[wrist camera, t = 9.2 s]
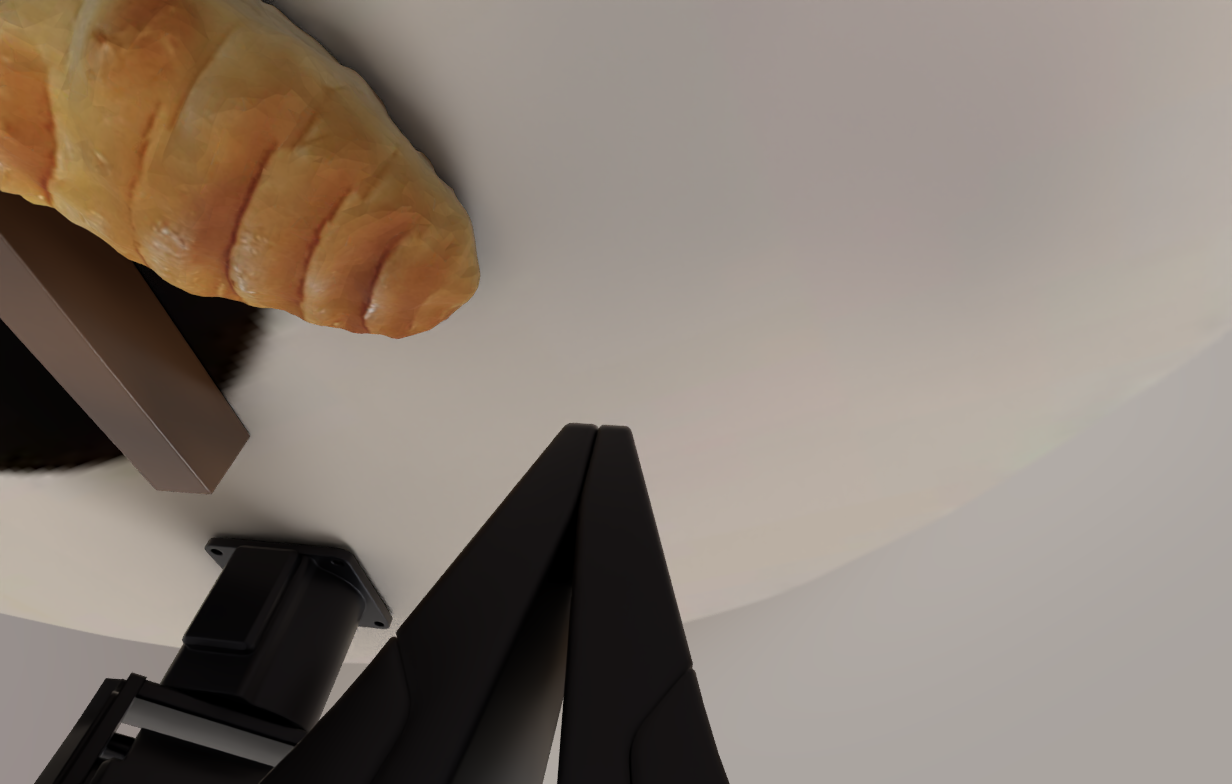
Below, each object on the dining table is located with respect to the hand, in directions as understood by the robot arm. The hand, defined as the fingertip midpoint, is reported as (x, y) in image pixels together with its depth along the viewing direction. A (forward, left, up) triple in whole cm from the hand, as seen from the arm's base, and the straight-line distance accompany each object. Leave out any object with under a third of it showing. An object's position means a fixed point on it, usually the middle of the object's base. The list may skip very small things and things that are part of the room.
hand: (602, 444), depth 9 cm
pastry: (+1, +9, -8) cm, 12 cm away
